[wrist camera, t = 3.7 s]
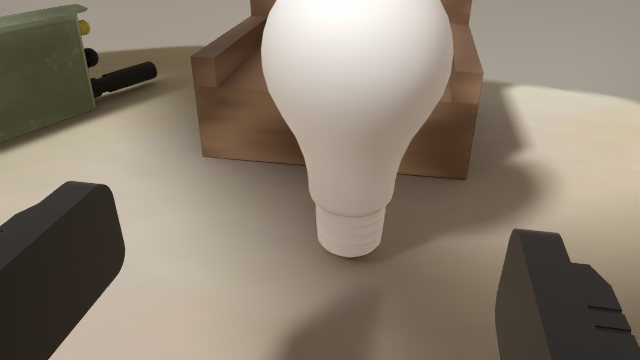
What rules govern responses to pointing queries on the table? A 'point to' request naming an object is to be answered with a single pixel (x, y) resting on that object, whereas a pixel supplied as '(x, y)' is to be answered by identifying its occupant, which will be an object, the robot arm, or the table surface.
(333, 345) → the table surface
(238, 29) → the stand
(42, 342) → the robot arm
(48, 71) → the handheld radio
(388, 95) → the lightbulb
